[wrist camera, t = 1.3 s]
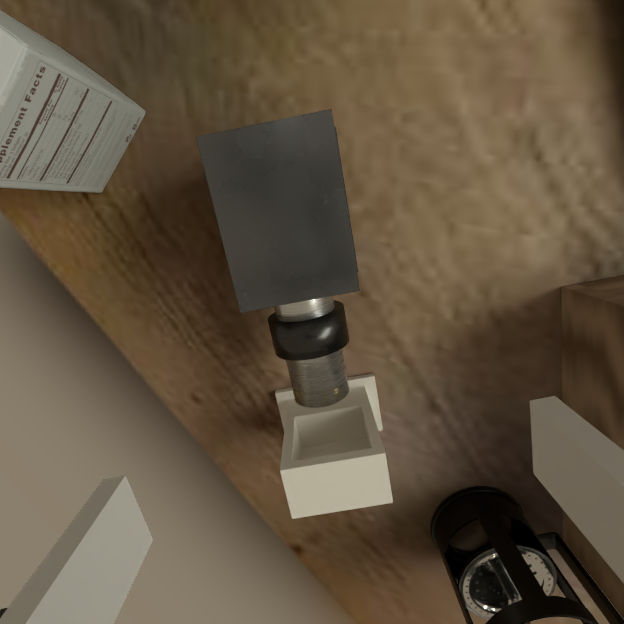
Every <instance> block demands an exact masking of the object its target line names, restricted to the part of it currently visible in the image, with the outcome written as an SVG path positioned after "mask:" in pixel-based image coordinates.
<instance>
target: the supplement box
mask: <svg viewBox="0 0 624 624" xmlns="http://www.w3.org/2000/svg"><path fill="white" fill-rule="evenodd" d="M145 113H146V112H145V110H144V109H143V108H141V107H140V106H139V105H137V104H136V103H135V102H134V101H132V100H131V99H130V98H128V97H127V96H126V95H125V94H123V93H122V92H121V91H119V90H118V89H117V88H115V87H114V86H113V85H111V84H110V83H109V82H108V81H106V80H105V79H104V78H102V77H101V76H100V75H98V74H97V73H95V72H94V71H93V70H91V69H90V68H89V67H87V66H86V65H84V64H83V63H82V62H80V61H79V60H77V59H76V58H75V57H73V56H72V55H70V54H69V53H67V52H66V51H65V50H63V49H62V48H61V47H59V46H57V45H55V44H54V43H52V42H51V41H49V40H47V39H46V38H44V37H43V36H41V35H39V34H38V33H36V32H35V31H33V30H31V29H30V28H28V27H26V26H25V25H23V24H22V23H20V22H18V21H17V20H15V19H14V18H12V17H11V16H9V15H7V14H6V13H4V12H3V11H1V10H0V188H16V189H32V190H52V191H72V192H94V193H102V191H103V189H104V188H105V186H106V184H107V183H108V181H109V179H110V177H111V176H112V174H113V172H114V170H115V169H116V167H117V165H118V163H119V161H120V159H121V158H122V156H123V154H124V152H125V150H126V149H127V147H128V145H129V143H130V141H131V140H132V138H133V136H134V134H135V132H136V131H137V129H138V127H139V125H140V123H141V121H142V119H143V117H144V116H145Z"/></svg>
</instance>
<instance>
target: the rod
mask: <svg viewBox="0 0 624 624" xmlns="http://www.w3.org/2000/svg"><path fill="white" fill-rule="evenodd" d="M274 309H275V312H274V313H273V314H271V315H270V316H269V318H268V323H269V327H270V332H271V336H272V340H273V345H274V349H275V353H276V355H277V356H278V357H279V358H282V359H285V360H286V362H287V367H288V371H289V376H290V380H291V385H292V389H293V394H294V398H295V401H296V403H297V404H299V405H301V406H303V407H307V408H321V407H326V406H330V405H333V404H335V403H337V402H339V401H341V400H343V399H344V398H345V397H346V396H347V395H348V393H349V384H348V378H347V373H346V367H345V362H344V356H343V350H342V348H343V347H344V346H346V345H347V343H348V342H349V334H348V328H347V323H346V317H345V311H344V305H343V303H341V302H339V301H335V300H333V296H329V297H323V298H318V299H313V300H307V301H302V302H296V303H291V304H286V305H280V306H275V307H274Z"/></svg>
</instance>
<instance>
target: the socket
mask: <svg viewBox="0 0 624 624" xmlns="http://www.w3.org/2000/svg"><path fill="white" fill-rule="evenodd" d="M348 384H349V393H348V395H347V396H346V397H345V398H344V399H343V400H341V401H339V402H337V403H335V404H333V405H330V406H326V407H321V408H307V407H303V406H301V405H299V404H297V403H296V401H295V398H294V394H293V389H292V387H291V388H286V389H280V390H276V391H275V395H276V399H277V404H278V408H279V412H280V416H281V420H282V424H283V429H284V439H283V448H282V457H281V466H280V472H281V476H282V480H283V484H284V488H285V492H286V496H287V500H288V504H289V508H290V512H291V516H292V519H294V518H301V517H307V516H313V515H319V514H326V513H332V512H338V511H344V510H351V509H357V508H363V507H369V506H376V505H382V504H388V503H393V498H392V492H391V486H390V479H389V473H388V467H387V460H386V454H385V450H384V447H383V444H382V441H381V437H380V434H379V431H382V430H383V428H382V421H381V415H380V409H379V402H378V396H377V389H376V383H375V377H374V374H373V373H371V374H365V375H360V376H354V377H348Z"/></svg>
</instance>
